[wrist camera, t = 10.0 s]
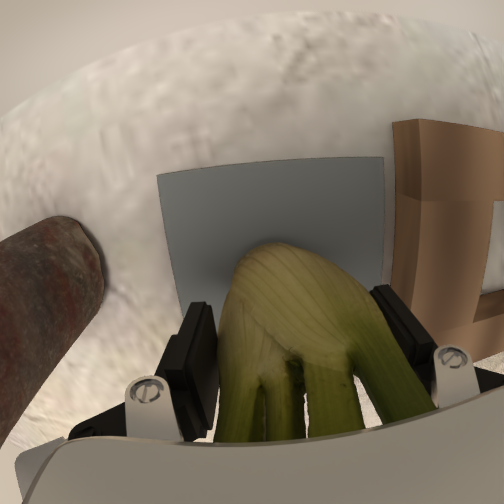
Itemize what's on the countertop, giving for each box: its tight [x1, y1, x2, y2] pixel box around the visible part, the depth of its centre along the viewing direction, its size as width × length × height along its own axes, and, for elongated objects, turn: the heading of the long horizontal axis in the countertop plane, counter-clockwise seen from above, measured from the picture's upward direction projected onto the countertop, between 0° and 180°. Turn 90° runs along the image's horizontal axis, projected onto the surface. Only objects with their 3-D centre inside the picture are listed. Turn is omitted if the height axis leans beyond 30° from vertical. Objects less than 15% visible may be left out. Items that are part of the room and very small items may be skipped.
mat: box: [157, 157, 385, 333], centre depth 16 cm, size 12×12×1 cm
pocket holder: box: [391, 119, 504, 363], centre depth 14 cm, size 18×16×3 cm
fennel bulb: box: [213, 242, 438, 443], centre depth 10 cm, size 6×5×12 cm
